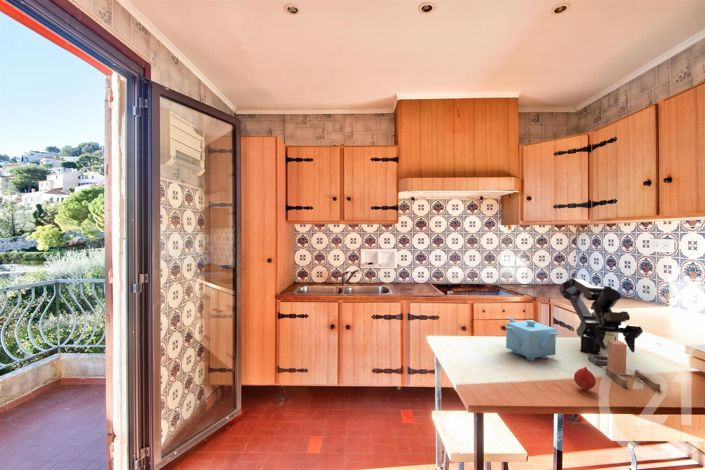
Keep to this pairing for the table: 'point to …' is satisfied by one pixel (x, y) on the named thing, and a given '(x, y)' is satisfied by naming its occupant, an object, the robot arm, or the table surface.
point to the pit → (598, 360)
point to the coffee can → (608, 335)
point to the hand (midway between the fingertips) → (618, 350)
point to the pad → (619, 372)
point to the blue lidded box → (530, 339)
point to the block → (617, 356)
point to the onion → (584, 379)
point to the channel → (638, 374)
